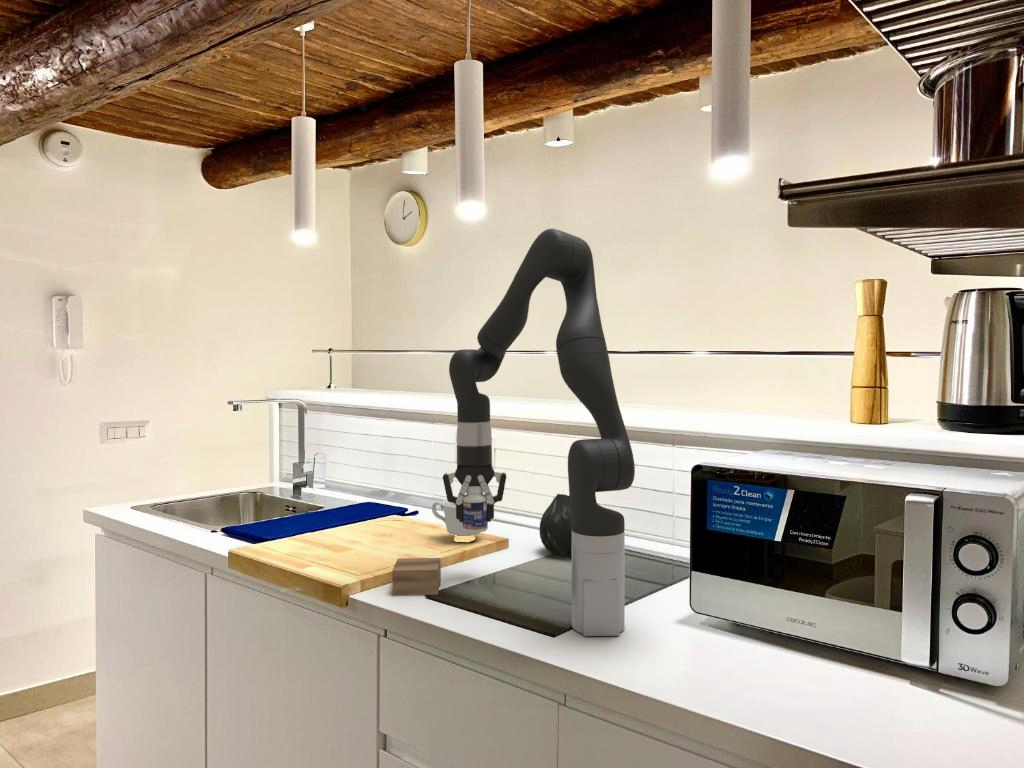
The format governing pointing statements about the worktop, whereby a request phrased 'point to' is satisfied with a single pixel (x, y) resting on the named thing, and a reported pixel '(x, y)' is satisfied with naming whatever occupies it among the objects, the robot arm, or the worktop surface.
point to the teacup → (451, 518)
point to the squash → (557, 526)
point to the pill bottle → (475, 510)
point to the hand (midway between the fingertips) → (475, 521)
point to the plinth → (416, 576)
